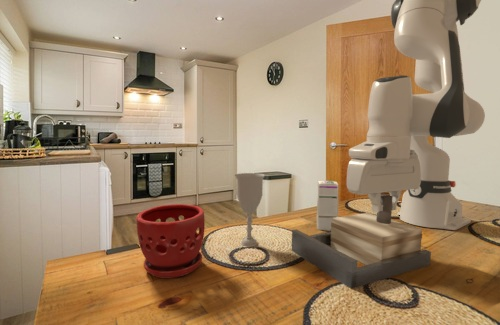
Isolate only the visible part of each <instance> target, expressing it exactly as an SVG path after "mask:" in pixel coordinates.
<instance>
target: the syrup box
mask: <svg viewBox="0 0 500 325" xmlns="http://www.w3.org/2000/svg"><path fill="white" fill-rule="evenodd" d="M339 185H340V184H339V183H338V181H336V180H318V181H317V191H316V192H317V196H316V198H317V199H316V209H317V210H316V230H317V231H328V232H331V222H332V218H336V217H339Z"/></svg>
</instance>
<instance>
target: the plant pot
mask: <svg viewBox="0 0 500 325" xmlns="http://www.w3.org/2000/svg"><path fill="white" fill-rule="evenodd" d="M180 216H182V217H183V220H182V219H181V220H180ZM169 218H171V219H172V220H173V221H167V220H168V219H169ZM157 220H160V221H158V222H157ZM198 229H199V230H198ZM197 230H198V231H197ZM136 232H137V237H138V238H137V239H138V243H139V247H140V250H141V253H142V255H143V256H144V261H143V268H144V269H145V271H146V272H147V273H148V274H150V275H151V276H153V277H156V278H157V277H158V278H162V279H171V278H178V277H183V276H186V275H188V274H190V273H192V272H193V271H195V270H197V268H199V266H200V265H201V263H202V261H203V255H202V253H201V252H200V251H201V248H202V245H203V243H204V238H205V212H204V209H203V208H202V207H200V206H197V205H193V204H184V203H183V204H182V203H175V204H163V205H159V206H158V205H157V206H153V207H150V208H147V209H144V210H143V211H141V212H139V213H138V214H137V216H136Z"/></svg>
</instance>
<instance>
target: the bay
mask: <svg viewBox="0 0 500 325" xmlns="http://www.w3.org/2000/svg"><path fill="white" fill-rule="evenodd" d="M291 251H292V252H293V253H295V254H296V255H298V256H299V257H301V258H302V259H303V260H305V261H307V262H309V264H311V265H314V266H315V267H316V268H318V269H319V270H321V271H322V272H324V273H326V274H327V275H329V276H330V277H332V278H333V279H335V280H336V281H338V282H339V283H341V284H343V285H344V286H346V287H347V288H349V289H351V290H352V289H355V288H359V287H363V286H366V285H370V284H372V283H375V282H379V281H383V280H385V279H389V278H392V277H395V276H398V275H402V274H405V273H408V272H413V271H415V270H418V269H422V268H425V267H428V266H430V265H431V259H432V258H431V257H432V256H431V255H432V252H431V251H430V250H427V249H421V251H418V252H414V253H410V254H407V255H403V256H399V257H395V258H391V259H387V260H384V261H380V262H376V263H372V264H368V265H365V264H363V265H361V266H358V261H357V260H355V259H353V258H351V257H350V256H348V255H346V254H344V253H342V252H340V251H338V250H336V249H334V248H332V247H331V231H328V232H321V233H316V234H311V235H308V234H306V233H304V232H302V231H300V230H299V229H291Z"/></svg>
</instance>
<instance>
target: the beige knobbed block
mask: <svg viewBox="0 0 500 325" xmlns="http://www.w3.org/2000/svg"><path fill="white" fill-rule="evenodd" d="M392 197H393V196H391V195H390V194H385V193H381V197H380V198H379V200H380V204H383V211H382V212H379V213H376V214H374V213H370V212H364V213H357V214H350V215H344V216H338V217H336V218H332V222H331V231H330V232H331V245H330V247H332V248H334V249H336V250H338V251H340V252H342V253H344V254H346V255H347V256H349V257H351V258H353V259H355V260H357V262H359V263H362V264H363V265H368V264H372V263H376V262H380V261H384V260H387V259H391V258H395V257H399V256H403V255H407V254H410V253H414V252H418V251H422V238H423V228H420V227H417V226H414V225H413V226H412V225H411V224H408V223H403V222H400V221H397V220H393V219H392V211H393V210H392Z"/></svg>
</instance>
